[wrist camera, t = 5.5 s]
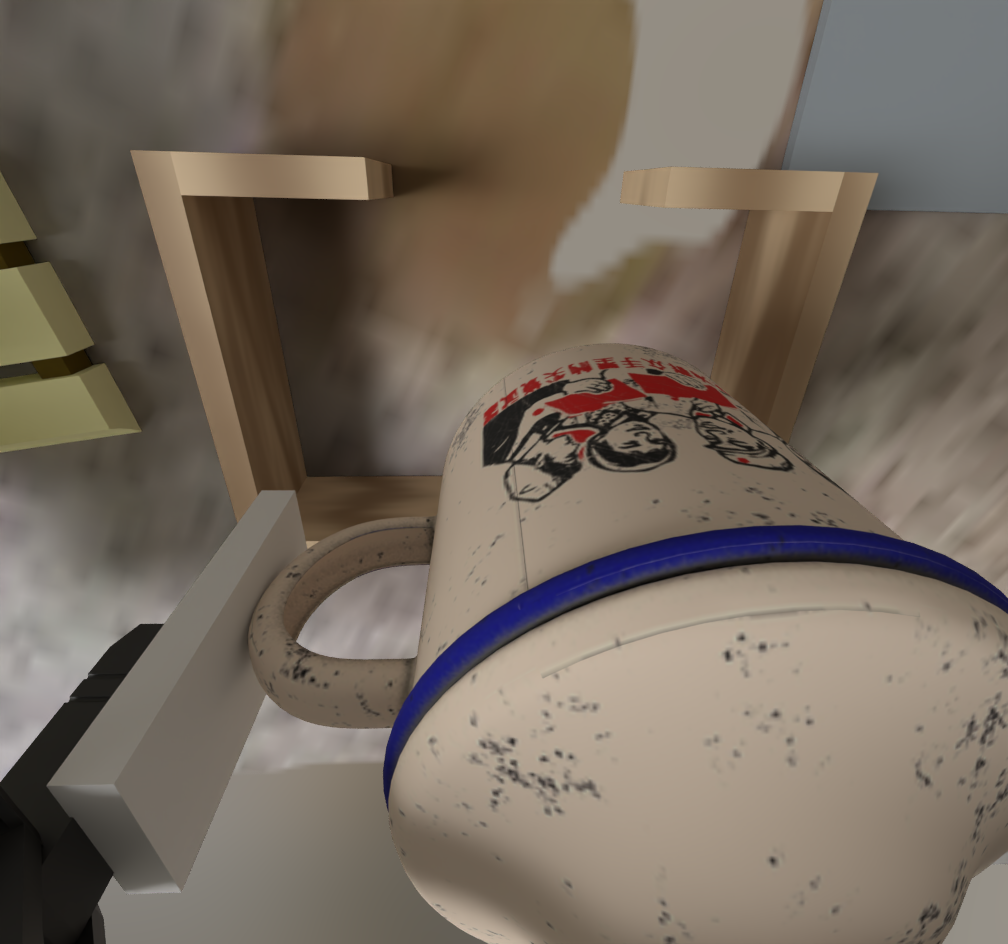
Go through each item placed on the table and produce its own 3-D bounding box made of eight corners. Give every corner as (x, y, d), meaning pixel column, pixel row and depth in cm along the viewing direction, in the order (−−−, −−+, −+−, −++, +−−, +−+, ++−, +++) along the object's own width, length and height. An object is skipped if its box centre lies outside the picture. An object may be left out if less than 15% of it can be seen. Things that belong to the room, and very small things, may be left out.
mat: (1296, -257, 17) (1323, -271, 16) (1059, 214, 24) (1072, 215, 23) (897, -291, 16) (911, -307, 15) (771, 207, 23) (778, 207, 22)
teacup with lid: (793, 336, 13) (2013, 918, 3) (704, 603, 17) (1025, 1204, 7) (308, 316, 12) (-619, 996, 2) (347, 599, 16) (131, 1257, 6)
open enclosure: (783, 176, 22) (878, 172, 17) (703, 491, 30) (750, 554, 25) (215, 159, 21) (130, 150, 16) (289, 494, 29) (248, 562, 24)
